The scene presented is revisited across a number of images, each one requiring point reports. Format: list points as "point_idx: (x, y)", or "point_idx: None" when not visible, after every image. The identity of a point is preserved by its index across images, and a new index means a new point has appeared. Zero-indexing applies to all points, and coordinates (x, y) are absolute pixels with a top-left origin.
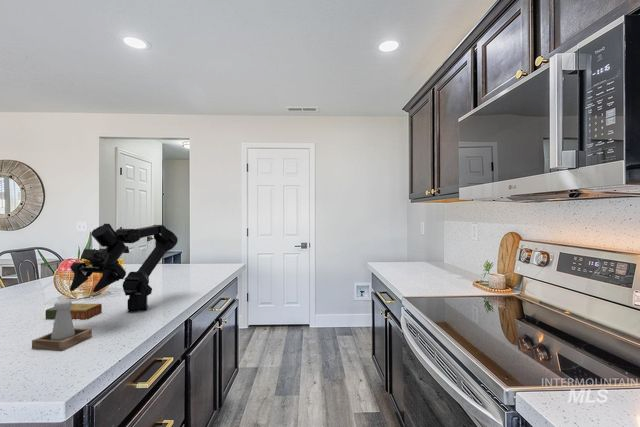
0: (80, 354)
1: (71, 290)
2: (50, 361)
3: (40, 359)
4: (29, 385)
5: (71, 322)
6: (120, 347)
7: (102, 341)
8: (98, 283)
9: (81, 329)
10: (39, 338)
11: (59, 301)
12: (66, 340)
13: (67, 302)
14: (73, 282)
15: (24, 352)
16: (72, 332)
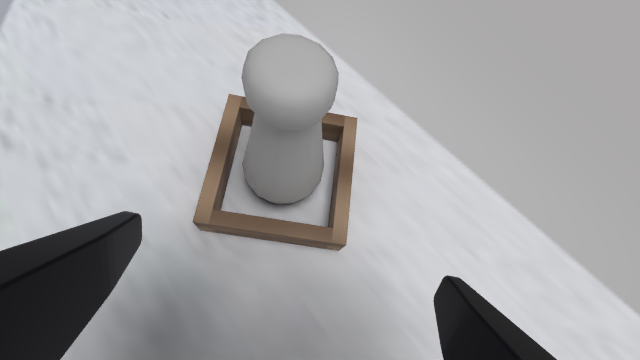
0: (148, 84)
1: (439, 288)
2: (215, 51)
3: None
4: None
5: (250, 147)
6: (16, 125)
7: (124, 183)
8: (33, 253)
9: (244, 221)
10: (344, 131)
11: (309, 54)
12: (225, 109)
13: (250, 54)
14: (512, 336)
15: (348, 111)
16: (243, 161)
